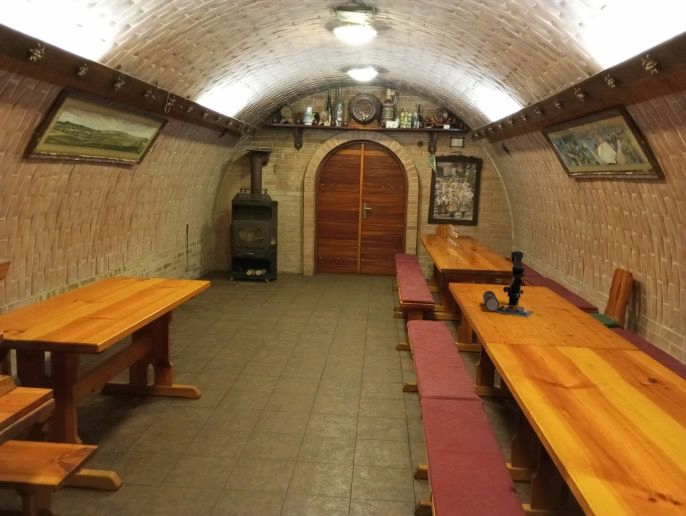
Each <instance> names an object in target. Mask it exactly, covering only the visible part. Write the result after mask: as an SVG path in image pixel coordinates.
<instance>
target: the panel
mask: <svg viewBox="0 0 686 516" xmlns="http://www.w3.org/2000/svg"><path fill="white" fill-rule="evenodd" d="M506 307H507V306H504V307H503V308H501V309H502V310H505V308H506ZM524 310H526V311H527V312H524ZM524 310H523V311H522V312H520V313H527V315H522V314H516V313H510V312H503V311H497V309H496V310H494V311H495V313H498V312H499V314H504V315H512V316H516V315H517V317H523V318H528V316H529V317H530V316H531V315H533V314H534V311H533V310H528V309H524ZM532 313H533V314H532Z"/></svg>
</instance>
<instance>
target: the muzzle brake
mask: <svg viewBox="0 0 686 516" xmlns="http://www.w3.org/2000/svg"><path fill="white" fill-rule="evenodd" d="M482 299H483V301H484V307H485V309H486V310H488V311H491V312H494V311H495V310H497V309H498V308H499V307H500V302H499V299H498V298H497V295H496V294H495V292H494V291H492V290H487V291H485V292H483V295H482Z"/></svg>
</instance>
